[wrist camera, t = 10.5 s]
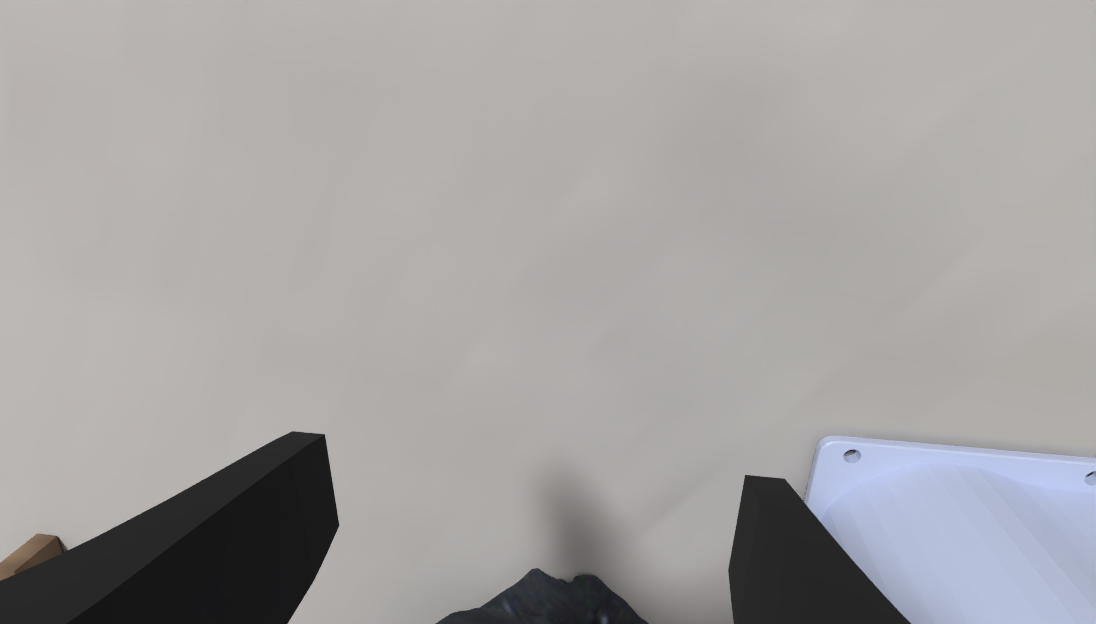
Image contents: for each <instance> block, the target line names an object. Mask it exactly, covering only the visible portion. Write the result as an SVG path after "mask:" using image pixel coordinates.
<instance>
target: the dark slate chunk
mask: <svg viewBox="0 0 1096 624" xmlns="http://www.w3.org/2000/svg"><path fill="white" fill-rule="evenodd" d="M436 624H648V623H647V622H646V621H645V620H643V619H641V618H640V617H639V616H638V615H637V614H636V613H635V611H634V610H633V609H632V608H631V607H630V606H629V605H628V604H627V602H626V601H625V600H623V599H622V598H621V597H620V596H618V595H617V594H615V593H614V592H612V591H611V590H610V589H609V588H608V587H607V586H606V585H605V584H604V583H603V582H602V581H601V580H600V579H599V578H598V577H596V576H585V575H582V576H576V577H575V578H574V580H573V582H571V583H564V582H563V580H562V579H555V578H553V577H551V576H549V575H547V574H545V573H544V572H542V571H541V570H540V569H538V568H537V569H532V570H530V571H529V572H528V573H527V574H526V575H525V576H524V577H523V578H522V579H521V580H520V581H519V582H517V583H516V584H515V585H513V586H512V587H510V588H508V589H506V590H505V591H503V592H502V593H500V594H499V595H497V596H496V597H495V598H493V599H492V600H491V601H489V602H488V603H486V604H485V605H483V606H482V607H480V608H474V609H471V610H468V611H459V612H455V613H452V614H450V615H448V616H447V617H445V618H444V619H442V620H441V621H439V622H438V623H436Z"/></svg>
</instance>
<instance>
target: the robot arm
mask: <svg viewBox="0 0 1096 624" xmlns="http://www.w3.org/2000/svg"><path fill="white" fill-rule="evenodd" d="M853 449H855V450H856V452H855V453H854V454H852V455H849V456H845V455H844V454H845V452H847V451H848V450H853ZM1094 471H1095V472H1094ZM1091 472H1094V473H1093V474H1092V475H1090V476H1088V477H1086V475H1087V474H1089V473H1091ZM338 527H339V521H338V515H337V509H336V502H335V496H334V490H333V483H332V477H331V471H330V464H329V458H328V452H327V445H326V439H325V434H314V433H304V432H293V431H292V432H290V433H288V434H286V435H284V436H282V437H280V438H278V439H276V440H274V441H272V442H270V443H268V444H266V445H265V446H263V447H261V448H259V449H257V450H256V451H254V452H252V453H250V454H248V455H247V456H245V457H243V458H241V459H239V460H238V461H236V462H234V463H232V464H231V465H229V466H227V467H225V468H224V469H222V470H220V471H218V472H216V473H215V474H213V475H211V476H209V477H208V478H206V479H204V480H202V481H200V482H199V483H197V484H195V485H193V486H191V487H190V488H188V489H186V490H184V491H183V492H181V493H179V494H177V495H175V496H174V497H172V498H170V499H168V500H166V501H164V502H162V503H160V504H159V505H157V506H155V507H153V508H151V509H149V510H147V511H145V512H143V513H141V514H139V515H137V516H136V517H134V518H132V519H130V520H128V521H126V522H124V523H122V524H120V525H118V526H116V527H114V528H113V529H111V530H109V531H107V532H105V533H103V534H101V535H99V536H97V537H95V538H93V539H91V540H89V541H87V542H85V543H83V544H81V545H79V546H77V547H74V548H72V549H70V550H68V551H66V552H64V553H62V554H60V555H57V556H55V557H53V558H51V559H49V560H46V561H44V562H42V563H40V564H37V565H35V566H33V567H31V568H28V569H26V570H24V571H22V572H19V573H17V574H15V575H13V576H10V577H8V578H6V579H3V580H1V581H0V624H288V622H289V620H290V619H291V617H292V615H293V614H294V612H295V611H296V609H297V607H298V606H299V604H300V602H301V601H302V599H303V598H304V596H305V594H306V593H307V591H308V589H309V588H310V586H311V584H312V583H313V581H314V579H315V577H316V575H317V573H318V571H319V569H320V567H321V565H322V563H323V560H324V558H325V556H326V554H327V552H328V550H329V547H330V545H331V543H332V541H333V538H334V536H335V534H336V532H337V529H338ZM728 572H729V582H730V592H731V602H732V611H733V620H734V624H1096V458H1089V457H1077V456H1066V455H1054V454H1043V453H1032V452H1020V451H1009V450H997V449H986V448H974V447H963V446H951V445H940V444H928V443H917V442H905V441H894V440H882V439H871V438H859V437H848V436H836V435H835V436H828V437H825V438H823V439H822V440H821V441H819V443H818V445H817V447H816V451H815V455H814V459H813V464H812V468H811V472H810V477H809V481H808V486H807V490H806V494H805V499H804V501H803V500H802V499H801V498H800V497H799V495H798V494H797V493H796V492H795V491H794V489H793V488H792V487H791V486H790V485H789V484H788V482H787V481H786V480H785V479H781V478H771V477H760V476H750V475H745V479H744V485H743V491H742V496H741V502H740V508H739V513H738V519H737V525H736V530H735V536H734V542H733V547H732V553H731V559H730V564H729V570H728Z"/></svg>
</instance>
